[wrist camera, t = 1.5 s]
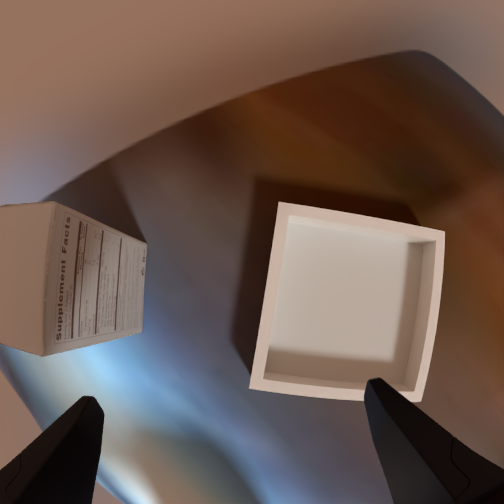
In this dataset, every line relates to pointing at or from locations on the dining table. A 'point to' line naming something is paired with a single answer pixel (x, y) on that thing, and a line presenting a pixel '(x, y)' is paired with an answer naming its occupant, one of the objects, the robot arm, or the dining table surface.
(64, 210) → the supplement box
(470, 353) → the dining table surface
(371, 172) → the dining table surface
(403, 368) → the tray
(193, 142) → the dining table surface
